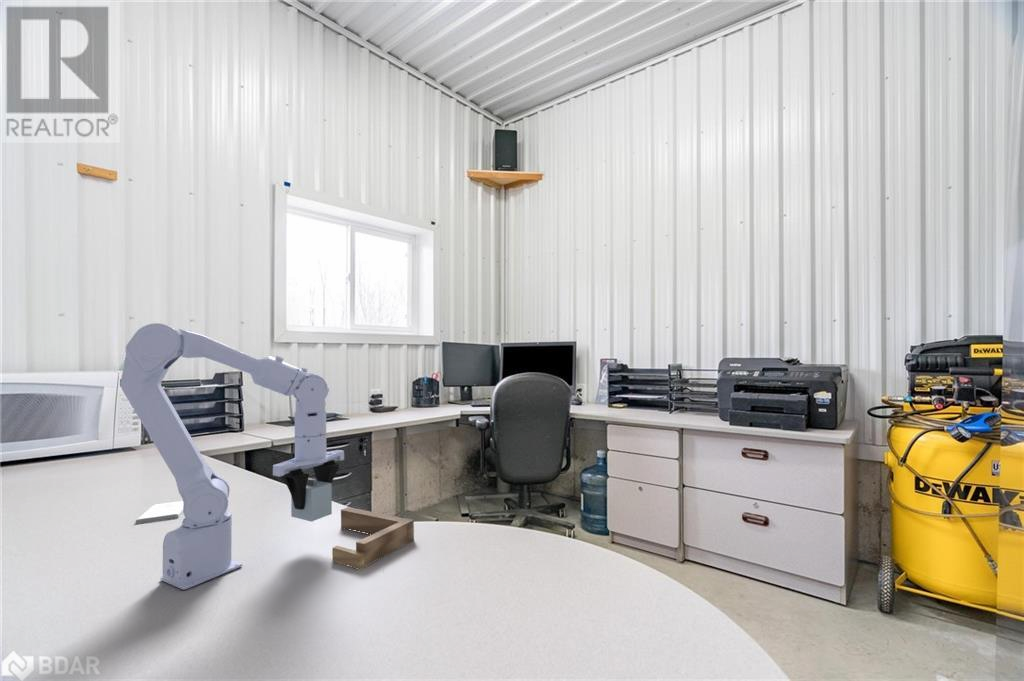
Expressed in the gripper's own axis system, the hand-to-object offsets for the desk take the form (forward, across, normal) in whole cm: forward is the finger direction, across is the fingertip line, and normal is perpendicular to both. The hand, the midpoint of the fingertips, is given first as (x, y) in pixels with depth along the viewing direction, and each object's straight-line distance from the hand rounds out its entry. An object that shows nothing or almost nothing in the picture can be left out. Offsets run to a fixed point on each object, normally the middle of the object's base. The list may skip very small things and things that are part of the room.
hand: (311, 504), depth 87 cm
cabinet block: (+2, 0, 0) cm, 2 cm away
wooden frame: (+9, +5, -6) cm, 12 cm away
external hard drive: (+9, -2, +53) cm, 54 cm away
